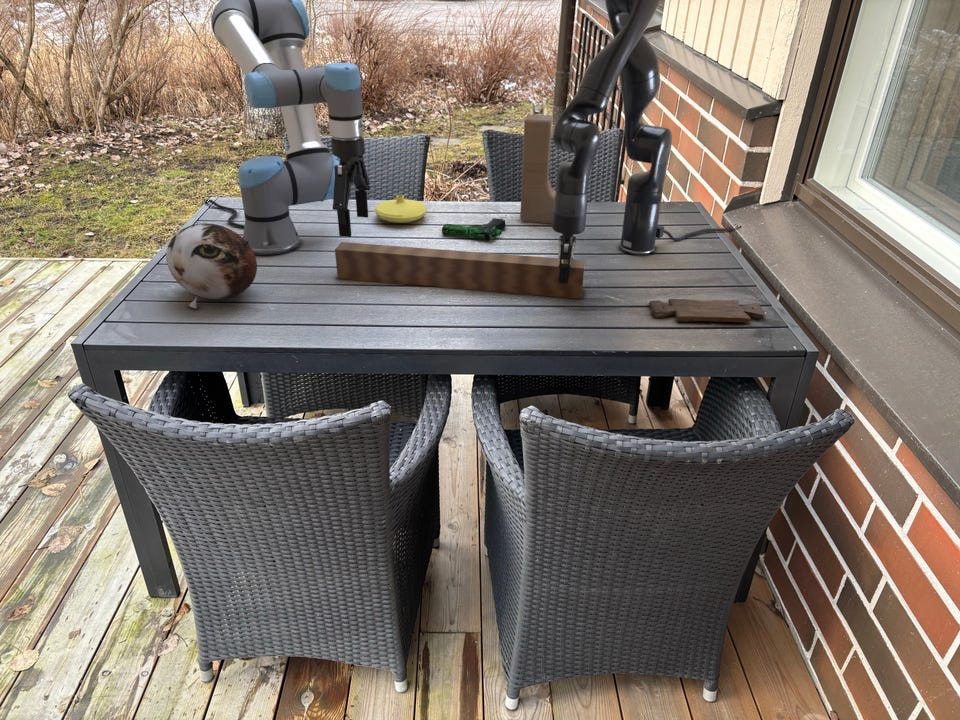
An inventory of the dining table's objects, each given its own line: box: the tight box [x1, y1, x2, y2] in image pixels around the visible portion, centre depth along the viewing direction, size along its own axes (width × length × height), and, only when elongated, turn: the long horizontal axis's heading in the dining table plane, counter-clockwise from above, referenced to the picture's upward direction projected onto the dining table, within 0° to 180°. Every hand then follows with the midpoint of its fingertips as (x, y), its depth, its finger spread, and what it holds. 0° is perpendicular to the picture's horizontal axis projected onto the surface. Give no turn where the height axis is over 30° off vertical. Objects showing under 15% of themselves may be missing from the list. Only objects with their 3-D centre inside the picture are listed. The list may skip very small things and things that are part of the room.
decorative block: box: [519, 114, 556, 224], centre depth 210 cm, size 8×15×30 cm, turn 82°
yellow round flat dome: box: [374, 194, 428, 224], centre depth 214 cm, size 16×16×7 cm
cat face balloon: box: [165, 222, 258, 309], centre depth 165 cm, size 22×18×20 cm
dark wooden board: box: [648, 298, 765, 323], centre depth 164 cm, size 26×2×10 cm
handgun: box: [441, 217, 506, 242], centre depth 207 cm, size 16×3×15 cm
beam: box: [334, 241, 586, 299], centre depth 175 cm, size 61×5×8 cm, turn 81°
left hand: (354, 226), depth 173 cm, fingers open, 13 cm apart
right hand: (564, 275), depth 171 cm, fingers open, 8 cm apart
